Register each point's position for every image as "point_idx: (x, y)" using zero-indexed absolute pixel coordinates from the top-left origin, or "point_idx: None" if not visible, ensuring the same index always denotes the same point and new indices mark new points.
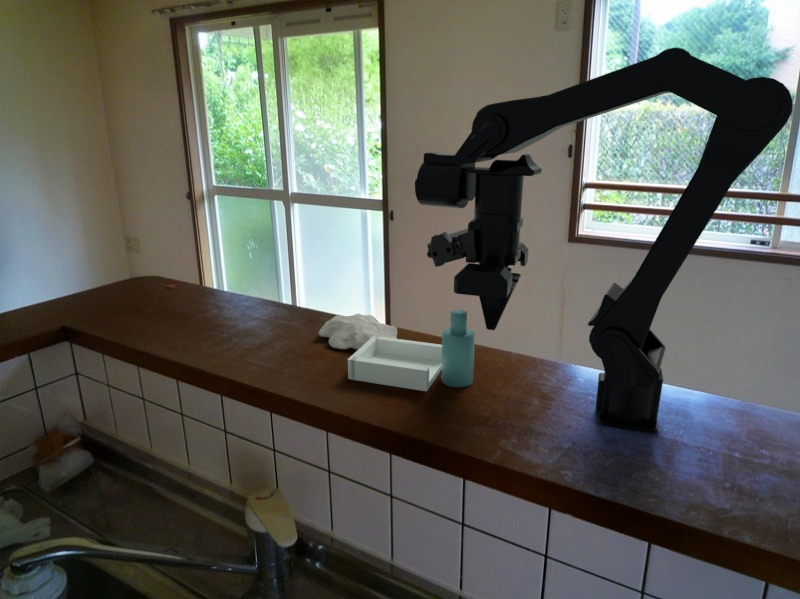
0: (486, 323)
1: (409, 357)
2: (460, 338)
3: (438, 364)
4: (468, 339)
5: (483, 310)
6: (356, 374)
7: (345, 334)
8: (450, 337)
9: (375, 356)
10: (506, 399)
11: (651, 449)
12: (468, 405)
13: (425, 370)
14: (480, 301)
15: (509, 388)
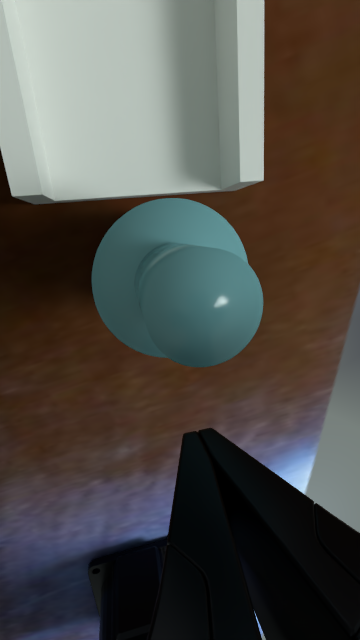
0: (181, 456)
1: (209, 52)
2: (114, 317)
3: (195, 181)
4: (133, 346)
5: (171, 527)
6: None
7: None
8: (104, 268)
9: None
10: (104, 401)
11: (51, 626)
12: (24, 338)
13: (12, 189)
14: (152, 617)
15: (161, 388)
